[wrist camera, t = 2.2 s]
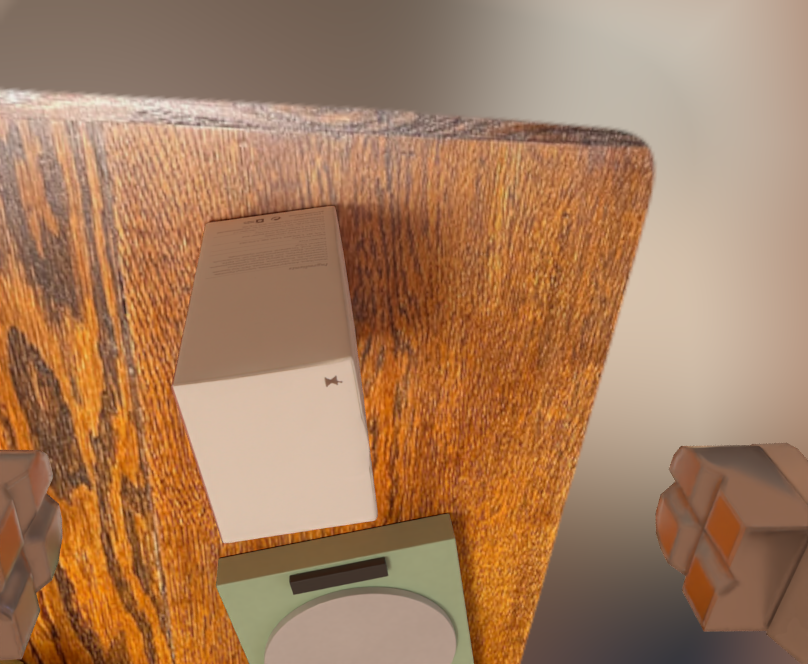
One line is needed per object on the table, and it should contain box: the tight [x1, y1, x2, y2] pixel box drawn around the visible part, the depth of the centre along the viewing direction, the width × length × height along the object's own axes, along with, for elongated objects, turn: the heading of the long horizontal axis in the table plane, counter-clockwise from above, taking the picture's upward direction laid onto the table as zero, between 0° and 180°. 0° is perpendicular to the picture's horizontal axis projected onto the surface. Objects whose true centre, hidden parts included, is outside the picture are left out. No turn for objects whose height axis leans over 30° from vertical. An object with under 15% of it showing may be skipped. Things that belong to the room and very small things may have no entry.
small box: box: [171, 206, 377, 543], centre depth 33 cm, size 8×6×13 cm
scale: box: [216, 513, 474, 664], centre depth 52 cm, size 15×17×3 cm
